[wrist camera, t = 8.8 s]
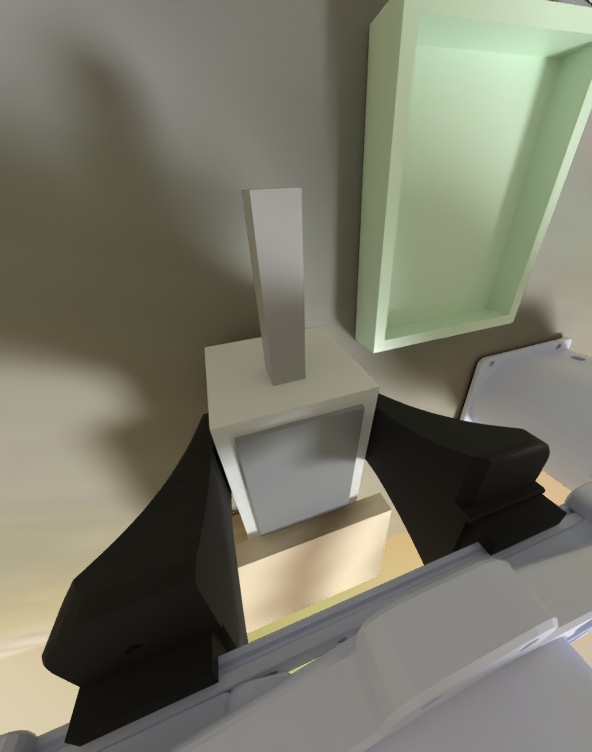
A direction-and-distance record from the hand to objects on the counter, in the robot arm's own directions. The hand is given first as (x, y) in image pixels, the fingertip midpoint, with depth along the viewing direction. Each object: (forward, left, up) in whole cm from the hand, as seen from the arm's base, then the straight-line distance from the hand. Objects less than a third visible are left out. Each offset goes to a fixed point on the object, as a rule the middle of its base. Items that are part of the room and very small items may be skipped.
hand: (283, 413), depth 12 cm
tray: (-10, -8, -3) cm, 13 cm away
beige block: (0, +8, -3) cm, 9 cm away
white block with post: (0, -2, -2) cm, 3 cm away
